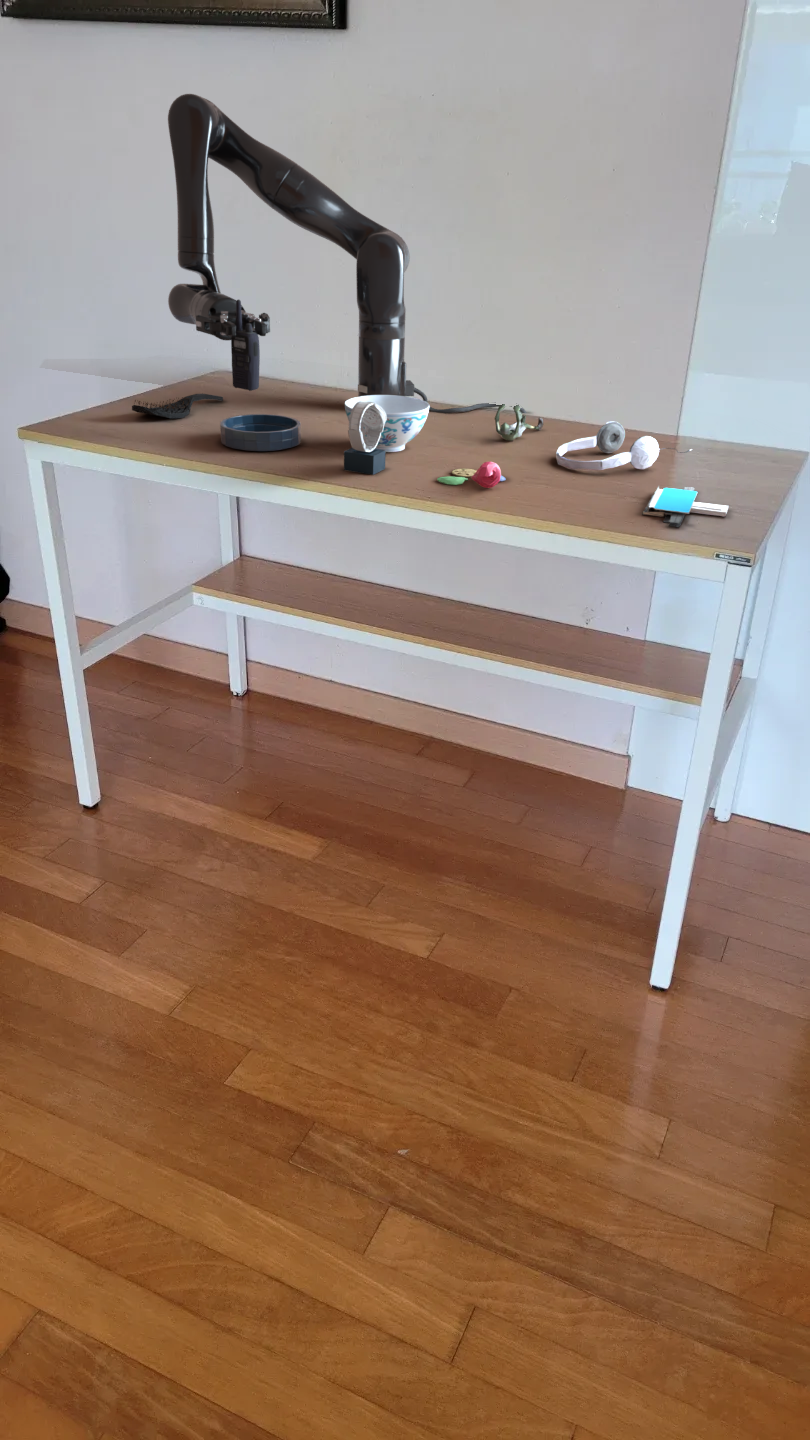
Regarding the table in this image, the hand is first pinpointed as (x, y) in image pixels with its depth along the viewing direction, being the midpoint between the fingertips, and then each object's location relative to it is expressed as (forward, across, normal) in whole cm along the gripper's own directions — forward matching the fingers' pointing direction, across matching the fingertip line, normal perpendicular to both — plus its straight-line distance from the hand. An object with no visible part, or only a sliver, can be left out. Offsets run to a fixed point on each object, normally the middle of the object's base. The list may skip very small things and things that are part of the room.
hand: (248, 330), depth 187 cm
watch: (+27, +11, +19) cm, 34 cm away
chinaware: (+15, +20, +19) cm, 31 cm away
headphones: (+38, +53, +18) cm, 68 cm away
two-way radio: (-2, 0, +10) cm, 11 cm away
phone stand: (+64, +48, +18) cm, 82 cm away
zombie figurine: (+15, +47, +19) cm, 53 cm away
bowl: (+4, 0, +19) cm, 19 cm away
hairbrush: (-24, -6, +19) cm, 32 cm away
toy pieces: (+39, +25, +18) cm, 50 cm away
